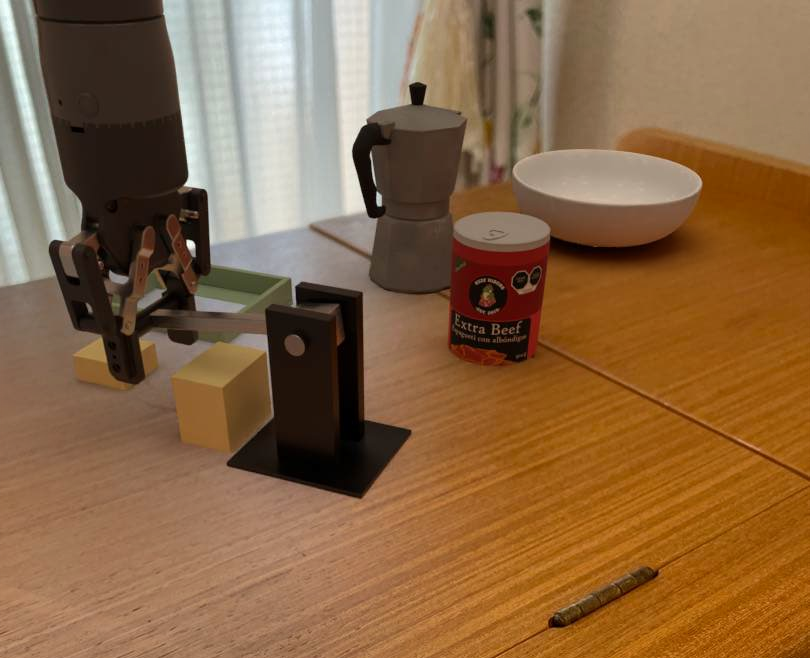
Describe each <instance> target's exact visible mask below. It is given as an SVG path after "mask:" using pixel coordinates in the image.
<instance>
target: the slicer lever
mask: <svg viewBox="0 0 810 658" xmlns="http://www.w3.org/2000/svg"><path fill="white" fill-rule="evenodd" d="M294 308H299V309H305V310H310V311H316V312H321V313H327V314H332V315H336V331H337V346H338V345H339V344H341V343H342V342H343V341H344V340H345V334H344V327H343V320H342V314H341V307H340V304H331V303H307V302H302V303H300V304H299V305H298V306H296V305H295V307H294ZM154 328H160V329H178V330H195V331H212V332H229V333H241V334H248V335H249V334H250V335H263V336H265V335H266V336H267V329H266V317H265V314H249V313H236V312H227V311H226V312H225V311H208V310H207V311H205V310H196V311H187V310H182V301H181V299H180V298H179V297H178V296H177V295H176V294H173V293H169V294H167V295H165V296H164V297H162V296H161V297H160V298H158V299H157V300H156V301H153V302H152V303H150V304H149V305H147V306H146V307H144V309H143V310H141V311H139V312H138V313H136V321H135V329H134V331H137V332H138V337H139V339H140V338H142V337H144V336H145V335H147V334H149V333H150V332H152V331H154V330H153V329H154Z"/></svg>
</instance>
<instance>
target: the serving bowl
mask: <svg viewBox="0 0 810 658" xmlns="http://www.w3.org/2000/svg"><path fill="white" fill-rule="evenodd" d="M511 176H512V177H511V179H512V190H513V195H514V198H515V199H514V200H515V202H516V204H517V206H518V208H519V210H520V212H521V214H525V215H529V216H532V217H535V218H538V219H540V220H542V221H544V222H545V223H546V224H548V226H549V227H550V237H553V238H555V239H558V240H561V241H564V242H569V243H572V244H575V243H577V244H576V245H579V244H582V245H581V246H583V245H588V246H597V247H616V248H626V247H633V246H634V247H635V246H636V247H637V246H641V245H646V244H650V243H652V242H653V243H654V242H656V241H659V240H661V239H663V238H665V237H667V236H669V235H670V234H672V233H673V232H675V231H676V230H677V229H679V228H680V227H681V226H682V225H683V224H684V223H685V222H686V221H687V220H688V218H689V217H690V216H691V214H692V212H693V211H694V209H695V208H696V205H697V203H698V200H699V198H700V195H701V192H702V188H703V180H702V179H701V177H700V175H698V173H697V172H695V171H694V170H692V169H690V168H689V167H687V166H685V165H683V164H680V163H678V162H675V161H672V160H669V159H665V158H662V157H657V156H653V155H648V154H644V153H637V152H631V151H622V150H612V149H596V148H595V149H594V148H593V149H591V148H578V149H577V148H576V149H575V148H574V149H573V148H572V149H559V150H550V151H545V152H539V153H536V154H532V155H529V156H527V157H524V158H522V159H520V160H519V161H517V162H516V163H515V164H514V166H513V168H512V170H511ZM588 246H587V247H588ZM597 247H596V248H597Z"/></svg>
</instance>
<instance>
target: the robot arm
mask: <svg viewBox="0 0 810 658" xmlns="http://www.w3.org/2000/svg"><path fill="white" fill-rule="evenodd" d="M31 3H32V7H33V12H34V15H35V17H34V19H35V25H36V34H37V45H38V46H37V47H38V56H39V65H40V70H41V75H42V81H43V84H44V85H43V86H44V89H45V90H44V91H45V94H46V99H47V104H48V109H49V113H50V118H51V124H52V128H53V134H54V139H55V143H56V148H57V152H58V157H59V163H60V166H61V171H62V177H63V181H64V183H65V186H66V187H67V188H68V189H69V190H70V191H71V192H72V193H73V194H74V195H75V196H76V198H78V200H79V202H80V204H81V222H80V232H79V233H78V234H76V235H75V236H73V237H72V238H70V239H69V240H59V239H53V240H51V241H50V243H49V245H48V256H49V258H50V261H51V265H52V267H53V270H54V273H55V277H56V279H57V282H58V285H59V288H60V291H61V295H62V297H63V300H64V303H65V307H66V310H67V313H68V315H69V318H70V321H71V324H72V327H73V329H74V330H76V331H78V332H82V333H84V332H86V333H90V334H94V335H99V336H100V337H102V339H103V344H104V349H105V354H106V357H107V358H106V359H107V362H108V363H107V364H108V369H109V372H110V373H111V375H112V376H113V377H114V378H115V379H116V380H118V381H120V382H125V383H129V384H133V385H132V386H136V385H139V384H140V383H142V382H143V381H144V380H145V379H146V376H145V371H144V366H143V360H142V354H141V349H140V343H139V339H140V338H139V337H138V332H137V331H134V329H135V321H136V312H137V307H138V305H139V304H138V303H139V301H140V300H143V299H144V298H145V296H146V295H145V292H146V283H147V276H148V275H149V274H150V273H151V272H152V271H153V272H154V273H155V275H156V277H157V279H158V281H159V283H160V284H161V286H162V287H163V288H165V289H167V290H163V291H162V292H161V293H160V294H161V298H162V297H164V296H165V295H167V294H169V293H173V294H176V295H177V296H178V297H179V298H180V299H181V301H182V310H187V311H197V306H196V299H195V297H196V296H194V293H196V292H197V290H198V285H199V284H198V279H199V278H200V277H201V276H208V275H209V273H210V270H211V264H212V263H211V262H212V261H211V259H212V258H211V239H210V217H209V214H210V213H209V195H208V192H207V190H206V189H205V188H199V187H193V186H188V185H186V183H187V182H188V180H189V176H190V175H189V174H190V173H189V165H188V156H187V148H186V141H185V132H184V125H183V116H182V108H181V99H180V94H179V92H180V91H179V85H178V75H177V68H176V63H175V62H176V61H175V56H174V52H173V47H172V43H171V38H170V36H169V31H168V27H167V21H166V15H165V6H164V0H31ZM187 241H190V242H191V241H192V242H193V244H194V251H195V252H194V253H195V256H192V254H191V251H190V249H189V247H188V242H187ZM110 272H111V273H113V275H116V276H120V277H125V278H128V279H127V281H126V282H124V283H121V282H120V283H119V282H115V281H113V280H112V279H111V277H110ZM115 294H116V295H118V296H119V297H120V306H119V314H116V313H113V311H112V308H111V307H112V298H113V296H114V295H115ZM87 304H88V305H89V307H90V308H91V311H89V309H88V305H87ZM166 334H167V337H168V339H169V340H170V341H171V342H172V343H175V344H181V345H184V346H192V345H194V344H195V343H196V342H198V341H199V339H198V338H199V336H198V331H195V330H178V329H167V333H166Z"/></svg>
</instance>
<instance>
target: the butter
mask: <svg viewBox="0 0 810 658" xmlns="http://www.w3.org/2000/svg"><path fill="white" fill-rule="evenodd" d="M267 356H268V355H267V351H266V350H263V349H258V348H254V347H248V346H242V345H238V344H233V343H223V342H216V343H214V344H212V345H211V346H210V347H209V348H207V349H205V350H204V351H203V352H201V353H200V354H199V355H197V356H196V357H194V358H193V359H192V360H190V361H189V362H188V363H187V364H185V365H184V366H183V367H180V369H179V370H178V371H175V373H173V374H172V375H171V376H170V378H171V386H172V390H173V391H172V392H173V397H174V403H175V408H176V415H177V422H178V427H179V434H180V440H181V443H185V444H190V445H194V446H198V447H203V448H207V449H211V450H215V451H219V452H223V453H226V454H232V453H233V452H234V451H235V450H236V449H237V448H238V447H239V446H240V445H241V444H242V443H243V442H244V441H245V440H247V438H248V437H250V435H252V434H253V433H254V432H255V431H256V430H257V429H258V428H259V427H260V426H261V425H262V424H263V423H264V422H265V421H266V420H267V419H269V417H271V416H272V414H273V413H272V403H271V402H272V401H271V391H270V381H269V369H268V357H267Z"/></svg>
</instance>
